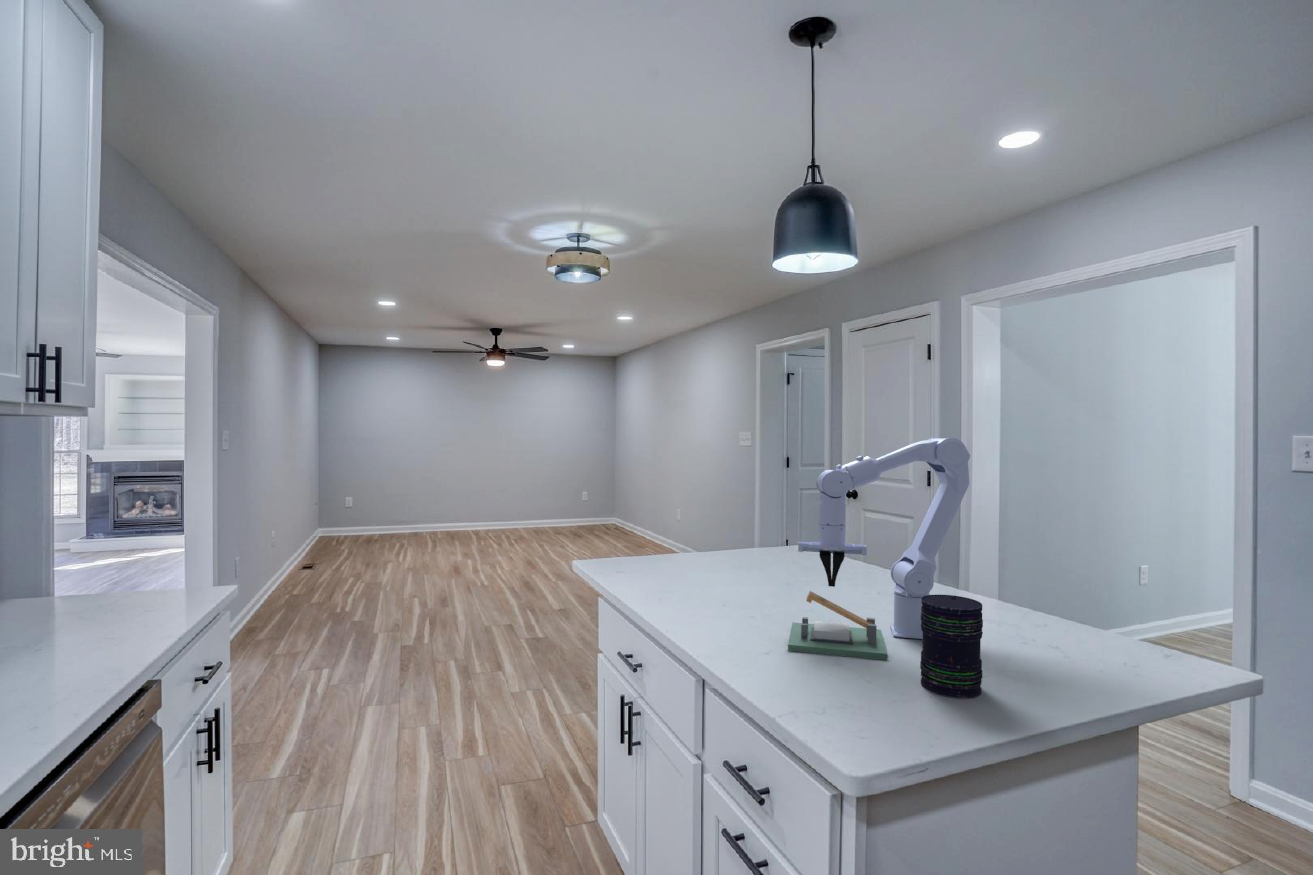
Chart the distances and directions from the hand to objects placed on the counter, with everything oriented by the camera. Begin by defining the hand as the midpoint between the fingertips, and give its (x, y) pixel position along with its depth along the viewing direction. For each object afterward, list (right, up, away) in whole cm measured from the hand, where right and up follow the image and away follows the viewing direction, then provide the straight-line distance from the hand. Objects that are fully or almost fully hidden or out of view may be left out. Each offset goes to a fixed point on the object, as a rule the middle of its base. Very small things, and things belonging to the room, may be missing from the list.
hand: (831, 585), depth 141 cm
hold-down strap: (-1, -5, -7) cm, 9 cm away
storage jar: (+12, -11, -30) cm, 34 cm away
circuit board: (-1, -10, -7) cm, 13 cm away
